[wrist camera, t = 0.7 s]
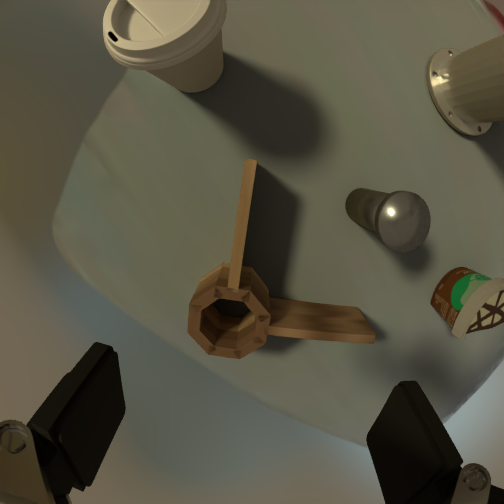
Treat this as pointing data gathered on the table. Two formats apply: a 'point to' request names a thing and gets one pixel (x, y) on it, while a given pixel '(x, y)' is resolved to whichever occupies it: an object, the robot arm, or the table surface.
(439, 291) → the food container
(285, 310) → the hinge
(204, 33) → the coffee cup
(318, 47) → the table surface
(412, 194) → the pin
